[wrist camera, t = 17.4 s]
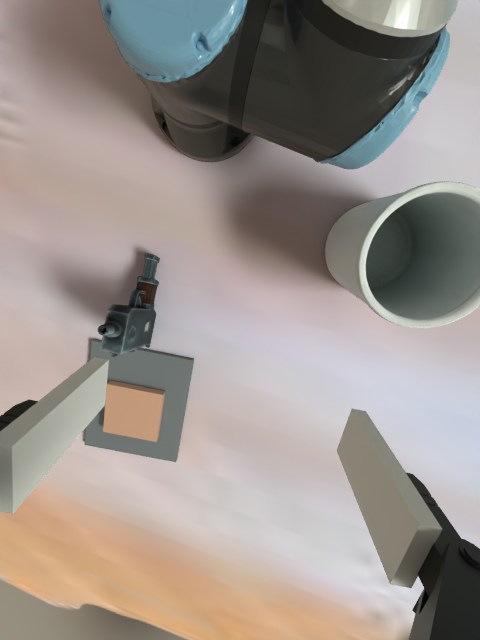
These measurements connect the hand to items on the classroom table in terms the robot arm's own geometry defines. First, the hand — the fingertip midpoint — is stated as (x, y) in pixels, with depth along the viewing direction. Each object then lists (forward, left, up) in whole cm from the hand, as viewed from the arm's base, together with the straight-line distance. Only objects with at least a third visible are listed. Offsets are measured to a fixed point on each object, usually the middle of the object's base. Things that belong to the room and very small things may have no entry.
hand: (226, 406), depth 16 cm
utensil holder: (-10, +18, -35) cm, 41 cm away
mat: (+25, -15, -35) cm, 45 cm away
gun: (+5, -15, -35) cm, 38 cm away
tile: (+21, -15, -33) cm, 42 cm away
